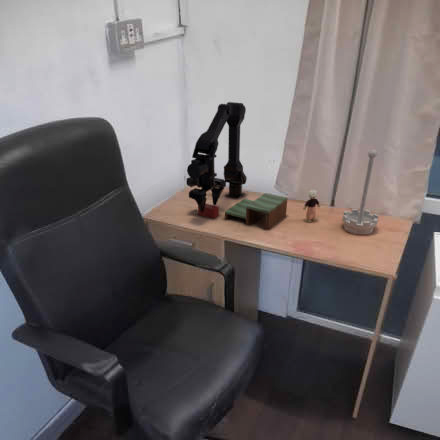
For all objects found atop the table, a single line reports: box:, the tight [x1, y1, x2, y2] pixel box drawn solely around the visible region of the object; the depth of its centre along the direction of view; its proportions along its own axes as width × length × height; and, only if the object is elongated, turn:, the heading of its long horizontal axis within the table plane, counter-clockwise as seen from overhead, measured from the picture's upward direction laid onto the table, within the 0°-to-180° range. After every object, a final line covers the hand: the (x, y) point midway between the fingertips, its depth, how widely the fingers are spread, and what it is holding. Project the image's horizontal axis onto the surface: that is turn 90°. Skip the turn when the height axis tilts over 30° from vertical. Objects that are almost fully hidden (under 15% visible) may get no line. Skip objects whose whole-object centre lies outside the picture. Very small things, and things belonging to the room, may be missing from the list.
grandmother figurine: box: [302, 189, 321, 223], centre depth 165 cm, size 8×4×13 cm, turn 126°
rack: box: [224, 192, 288, 231], centre depth 170 cm, size 16×20×8 cm
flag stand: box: [341, 149, 379, 236], centre depth 154 cm, size 13×13×30 cm
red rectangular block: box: [197, 203, 220, 219], centre depth 173 cm, size 4×8×4 cm, turn 57°
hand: (208, 208), depth 173 cm, fingers open, 9 cm apart
